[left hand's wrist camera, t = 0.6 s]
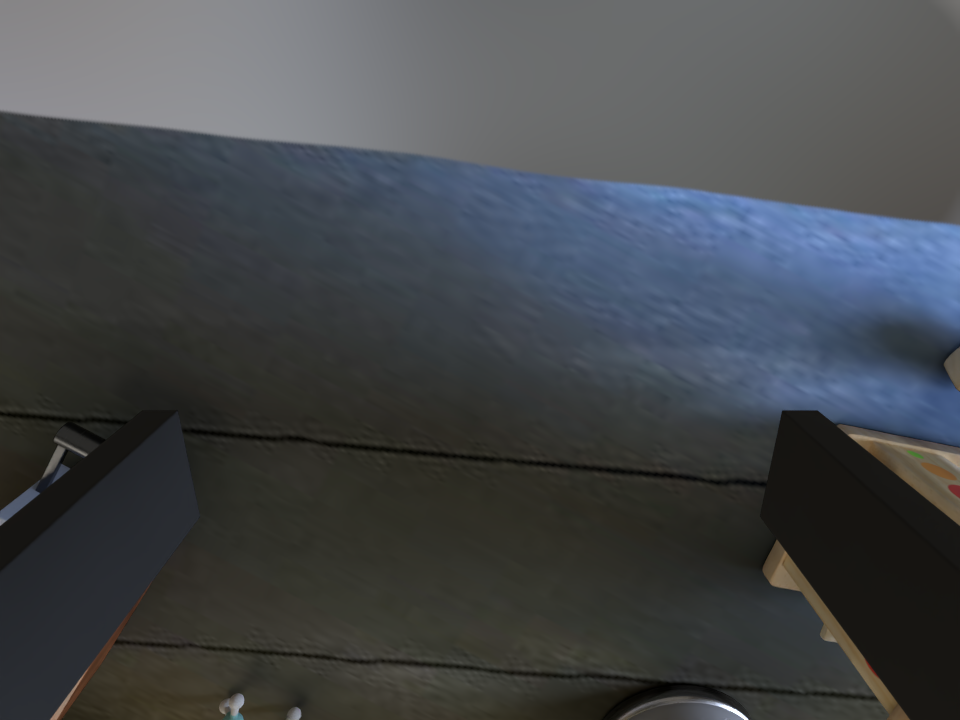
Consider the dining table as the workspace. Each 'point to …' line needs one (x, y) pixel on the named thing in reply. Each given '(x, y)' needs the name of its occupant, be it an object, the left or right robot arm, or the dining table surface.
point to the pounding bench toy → (924, 466)
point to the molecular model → (236, 701)
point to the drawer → (56, 463)
